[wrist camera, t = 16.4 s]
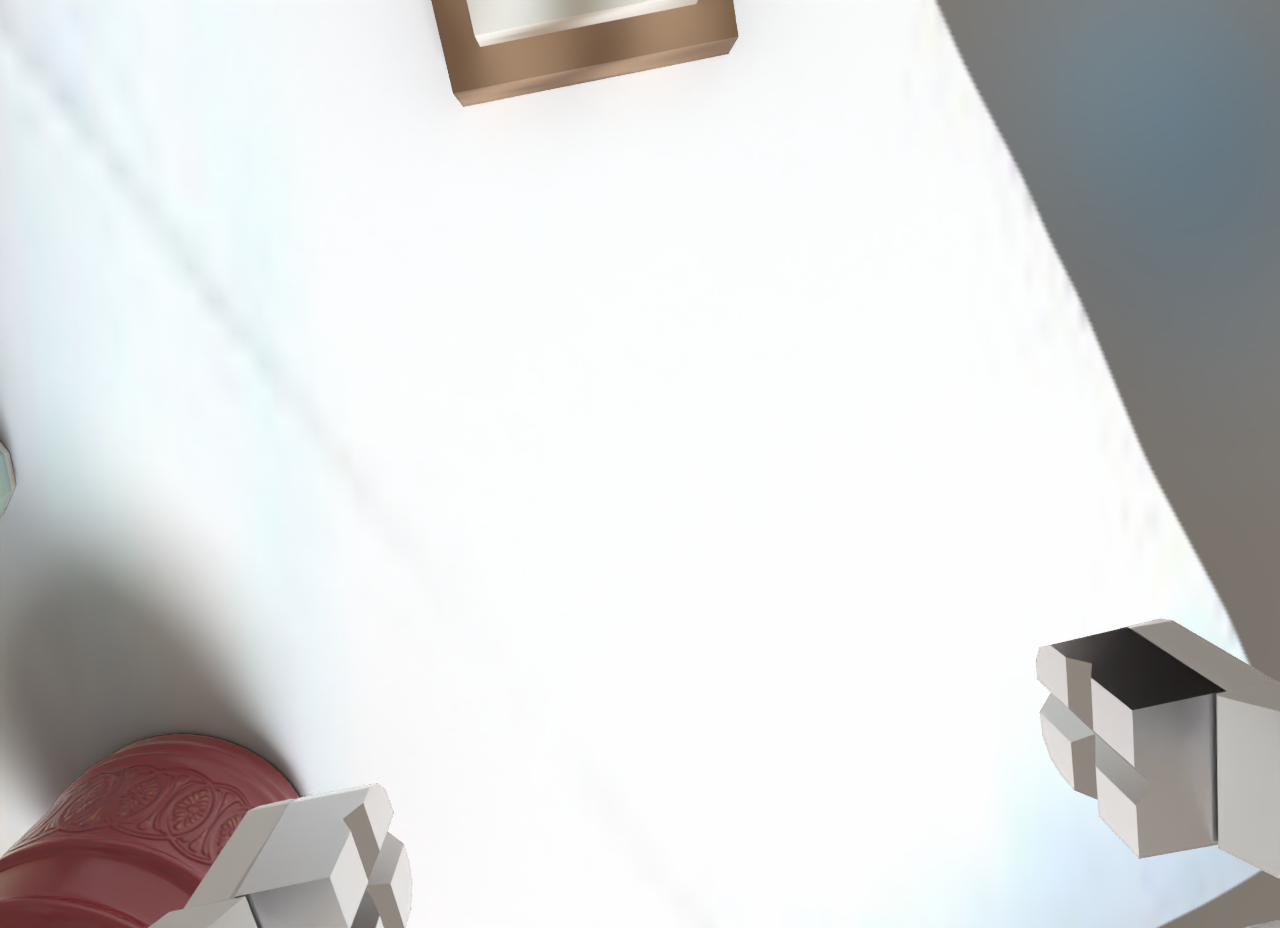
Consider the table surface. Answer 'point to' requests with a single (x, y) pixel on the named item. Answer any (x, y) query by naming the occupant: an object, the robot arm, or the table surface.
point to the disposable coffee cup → (5, 479)
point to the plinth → (572, 41)
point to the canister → (134, 834)
